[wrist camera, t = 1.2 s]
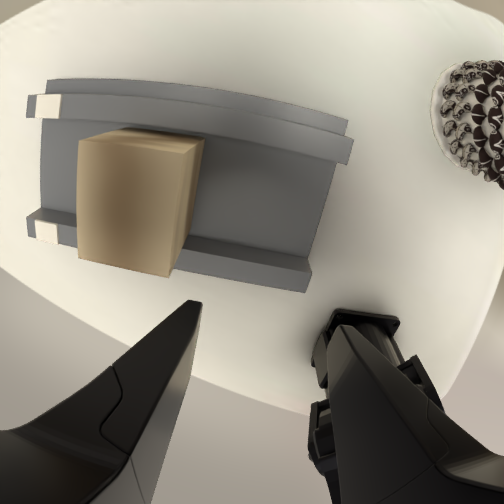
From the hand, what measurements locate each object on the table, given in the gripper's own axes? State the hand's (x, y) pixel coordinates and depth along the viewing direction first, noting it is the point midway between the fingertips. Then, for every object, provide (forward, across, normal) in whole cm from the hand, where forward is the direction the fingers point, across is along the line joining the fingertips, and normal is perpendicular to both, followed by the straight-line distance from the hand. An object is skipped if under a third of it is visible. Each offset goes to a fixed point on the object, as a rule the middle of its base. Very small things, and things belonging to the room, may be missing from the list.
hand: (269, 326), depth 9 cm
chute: (+13, +6, 0) cm, 14 cm away
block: (+12, +6, 0) cm, 14 cm away
